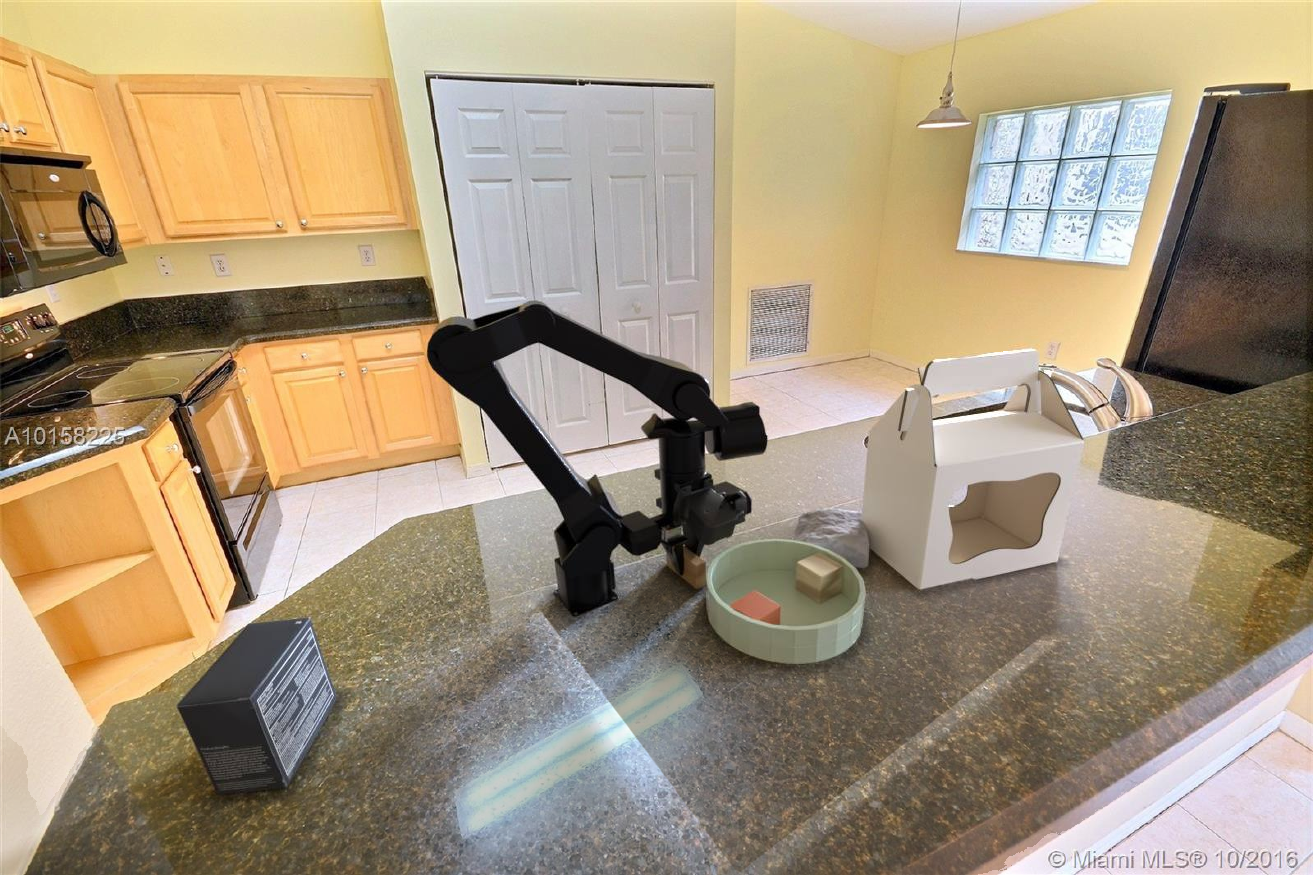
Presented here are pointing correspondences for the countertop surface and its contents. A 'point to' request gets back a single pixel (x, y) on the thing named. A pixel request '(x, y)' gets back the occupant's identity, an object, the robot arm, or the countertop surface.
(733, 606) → the terracotta block
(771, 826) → the countertop surface
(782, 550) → the bowl
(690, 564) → the oak wood brick
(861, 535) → the stone block
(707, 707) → the countertop surface
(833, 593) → the cream block
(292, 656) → the small box
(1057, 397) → the gable box
